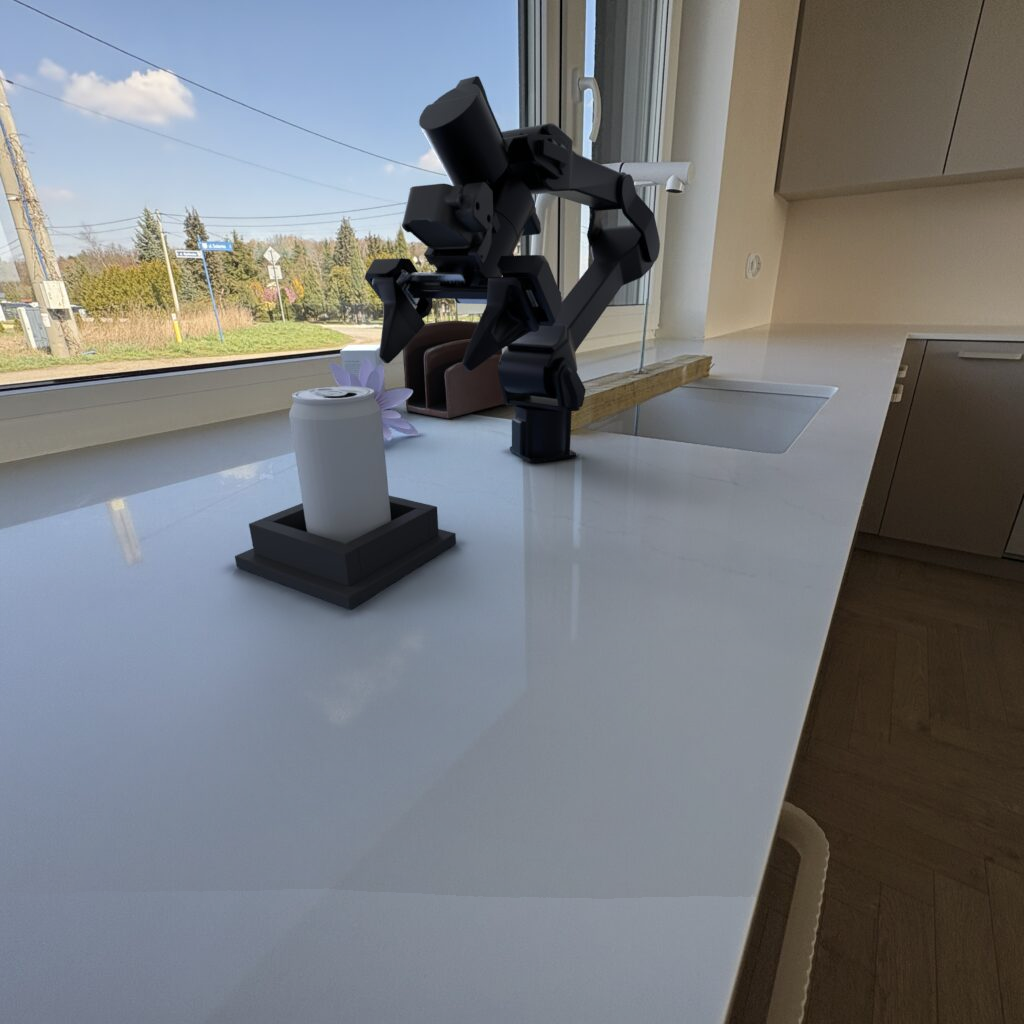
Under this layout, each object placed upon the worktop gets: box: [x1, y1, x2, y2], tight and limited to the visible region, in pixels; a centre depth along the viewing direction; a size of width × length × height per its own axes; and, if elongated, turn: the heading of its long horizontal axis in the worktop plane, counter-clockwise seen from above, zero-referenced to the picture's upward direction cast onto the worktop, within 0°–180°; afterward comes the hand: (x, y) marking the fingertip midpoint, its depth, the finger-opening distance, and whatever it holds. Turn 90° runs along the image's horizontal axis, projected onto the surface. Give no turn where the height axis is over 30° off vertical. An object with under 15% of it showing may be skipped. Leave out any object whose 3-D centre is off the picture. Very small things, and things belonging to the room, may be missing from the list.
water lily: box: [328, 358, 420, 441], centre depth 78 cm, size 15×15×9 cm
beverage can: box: [288, 385, 391, 544], centre depth 43 cm, size 6×6×12 cm
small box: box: [339, 344, 387, 411], centre depth 93 cm, size 8×6×10 cm
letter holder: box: [402, 320, 506, 420], centre depth 97 cm, size 10×20×14 cm, turn 143°
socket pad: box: [234, 495, 457, 610], centre depth 45 cm, size 12×12×4 cm
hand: (423, 363), depth 50 cm, fingers open, 9 cm apart
